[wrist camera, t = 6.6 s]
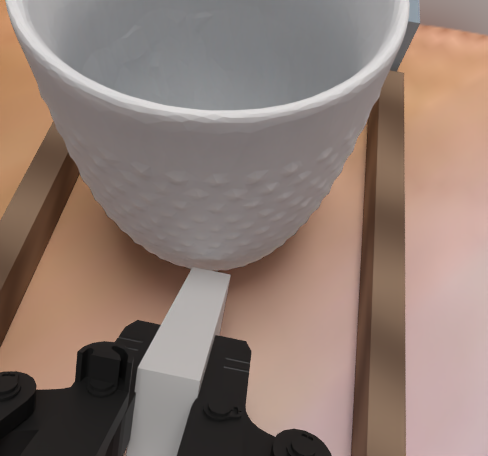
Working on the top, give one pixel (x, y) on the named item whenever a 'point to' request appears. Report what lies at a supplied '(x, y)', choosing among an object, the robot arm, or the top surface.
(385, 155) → the channel
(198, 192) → the mug
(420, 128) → the top surface
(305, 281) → the top surface
